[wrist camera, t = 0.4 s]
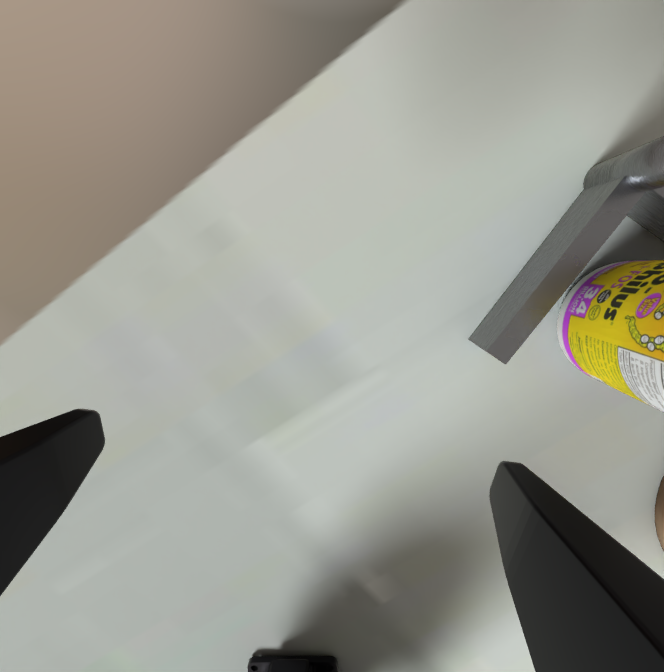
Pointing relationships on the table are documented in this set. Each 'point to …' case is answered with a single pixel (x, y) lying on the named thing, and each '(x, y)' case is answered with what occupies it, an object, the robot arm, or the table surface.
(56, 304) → the table surface
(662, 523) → the copper plate
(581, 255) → the rack bracket
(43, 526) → the robot arm
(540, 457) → the table surface
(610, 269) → the supplement bottle
